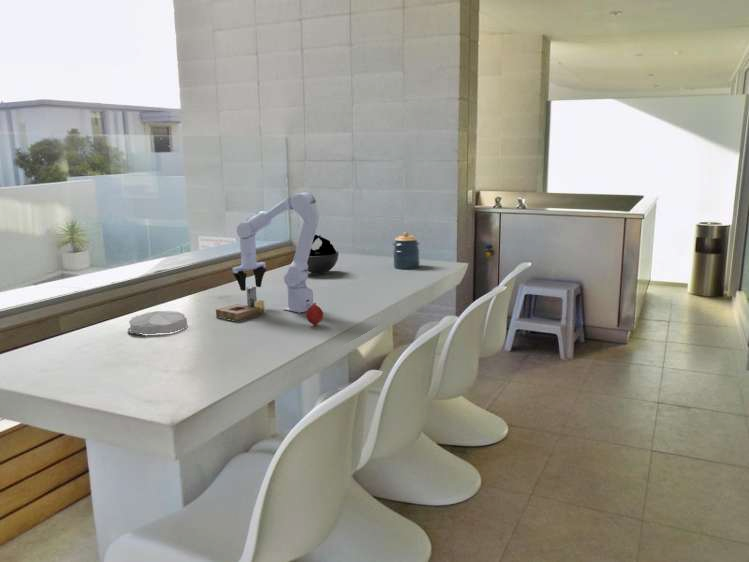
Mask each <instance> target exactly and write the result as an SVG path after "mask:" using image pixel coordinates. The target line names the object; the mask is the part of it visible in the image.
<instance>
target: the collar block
mask: <svg viewBox="0 0 749 562" xmlns="http://www.w3.org/2000/svg"><path fill="white" fill-rule="evenodd" d="M215 315H216V316H215V317H216V318H217V317H221V318H220V319H222V318H225V319H224V320H226V319H230V320H229V321H231V320H234V321H233V322H235V321H239V322H242V321H241V320H243V321H245V320H244V319H246V320H249V318H250V319H252V317H253V318H256V317H255V316H257V317H259V316H260V314H259V309H258V308H256V307H251V306H248V305H247V304H246V305H245V304H241V303H237V304H231V305H228V306H224V307H221V308H216V309H215Z"/></svg>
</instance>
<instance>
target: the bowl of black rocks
mask: <svg viewBox="0 0 749 562" xmlns="http://www.w3.org/2000/svg"><path fill="white" fill-rule="evenodd" d="M318 239H319V240H320V241H321V244H320V246H319V247H318V248H317V249H312V248H311V250H310V254H309V257H308V261H307V265H308V269H307V272H308V273H311V274H314V275H322V274H324V273H327V272H329V271H331V270H332V269H333V268H334V267H335V265H336V264H337V262H338V260H339V254H340V253H339V251H338V250H336V249H335V247H334V245H333V243H331V240H329V239H327V238H325V237H322V235H318V234H315V236H314V239H313V243H312V245H314V243H315V241H316V240H318Z"/></svg>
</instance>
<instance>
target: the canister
mask: <svg viewBox="0 0 749 562" xmlns="http://www.w3.org/2000/svg"><path fill="white" fill-rule="evenodd" d="M394 240H395V241H394V242H393V243H392V245H393V246H394V247H393V248H394V249H393V267H394V268H395V269H398V270H399V269H401V270H412V269H418V268H419V267H420V249H419V245H420V242H419V241H418V237H415V235H411V234H410V235H409V232H408V231H405V232H403V235H399V236H397V237H395V238H394Z"/></svg>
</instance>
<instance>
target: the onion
mask: <svg viewBox="0 0 749 562" xmlns="http://www.w3.org/2000/svg"><path fill="white" fill-rule="evenodd" d="M305 312H306V313H305V318H306V320H307V322H308V323H310V324H312V325H313V326H317V325H319V323H321V321H322V320H323V318H324V312H323V309H322V308H321V307H320V306H318V305H317V302H313V305H312V306H310V307H309V308H308V310H307V311H305Z"/></svg>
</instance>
